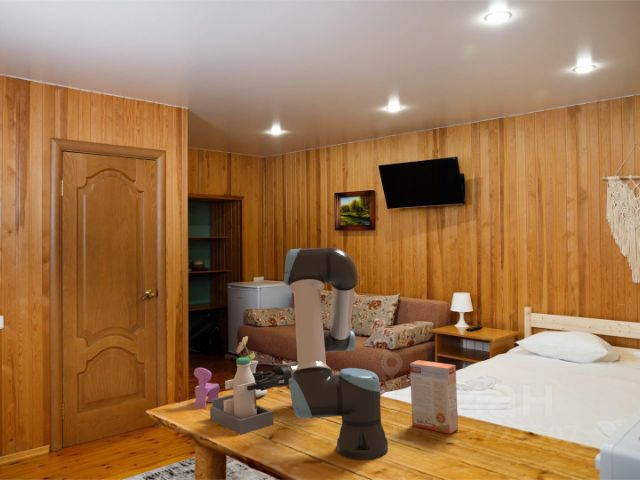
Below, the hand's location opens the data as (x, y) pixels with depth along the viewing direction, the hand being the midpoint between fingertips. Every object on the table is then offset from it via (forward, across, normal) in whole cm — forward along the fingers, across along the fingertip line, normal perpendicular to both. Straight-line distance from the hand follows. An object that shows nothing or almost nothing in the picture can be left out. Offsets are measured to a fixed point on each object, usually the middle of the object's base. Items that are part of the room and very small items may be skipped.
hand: (231, 387), depth 181 cm
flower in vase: (-24, +26, -14) cm, 38 cm away
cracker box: (-47, -48, -14) cm, 69 cm away
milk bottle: (-5, 0, -11) cm, 12 cm away
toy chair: (-6, +30, -14) cm, 33 cm away
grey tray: (-5, +3, -14) cm, 15 cm away
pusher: (-5, +5, -12) cm, 14 cm away
